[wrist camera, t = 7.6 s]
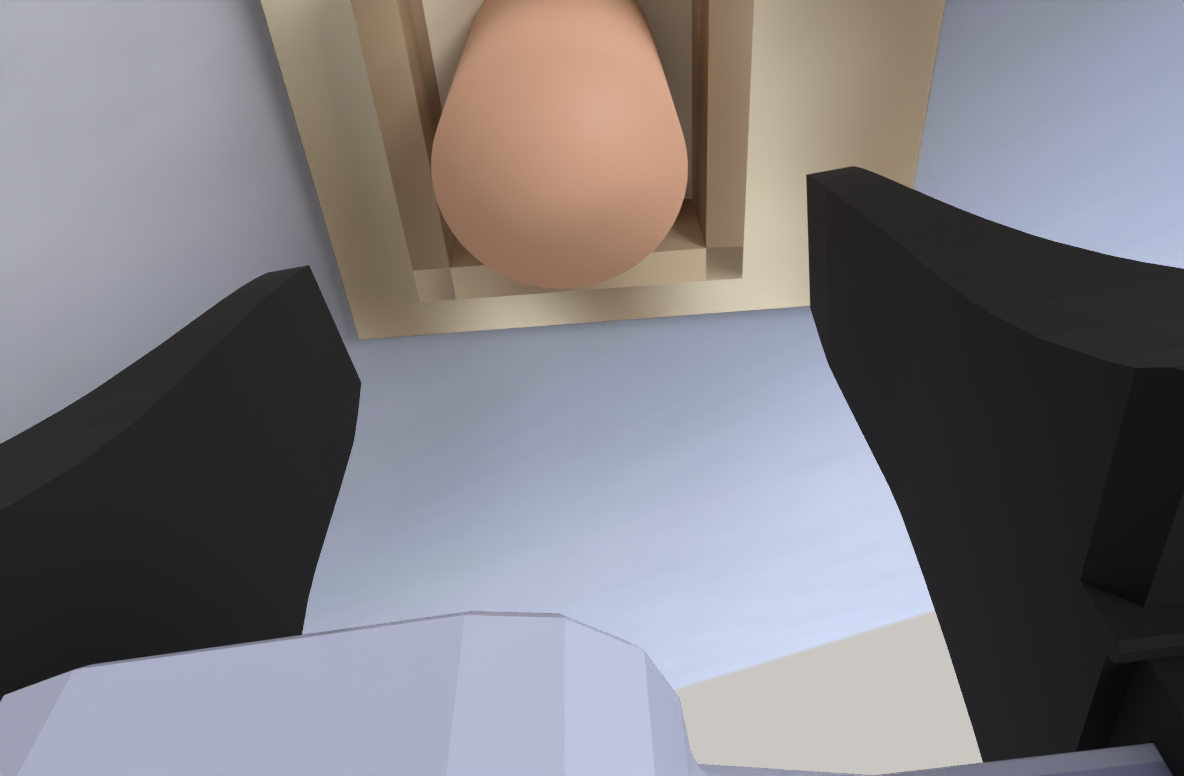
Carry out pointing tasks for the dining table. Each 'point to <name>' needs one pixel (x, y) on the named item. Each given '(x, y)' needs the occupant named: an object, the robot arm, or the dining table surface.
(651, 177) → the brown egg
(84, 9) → the dining table surface
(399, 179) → the dock
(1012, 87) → the dining table surface
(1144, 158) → the dining table surface
